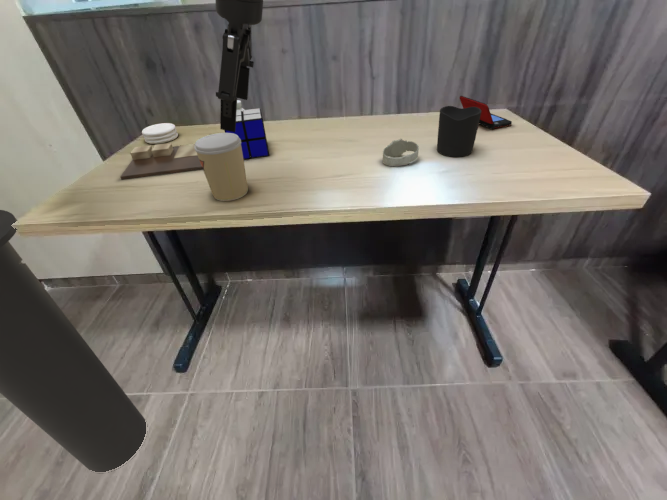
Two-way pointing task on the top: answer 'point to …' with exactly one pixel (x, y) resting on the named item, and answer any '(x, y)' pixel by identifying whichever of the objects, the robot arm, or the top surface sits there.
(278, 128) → the top surface
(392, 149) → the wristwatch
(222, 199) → the coffee cup
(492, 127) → the handheld console
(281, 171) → the top surface
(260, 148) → the puzzle cube
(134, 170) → the letter board
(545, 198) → the top surface
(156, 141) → the coaster
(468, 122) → the pen holder
